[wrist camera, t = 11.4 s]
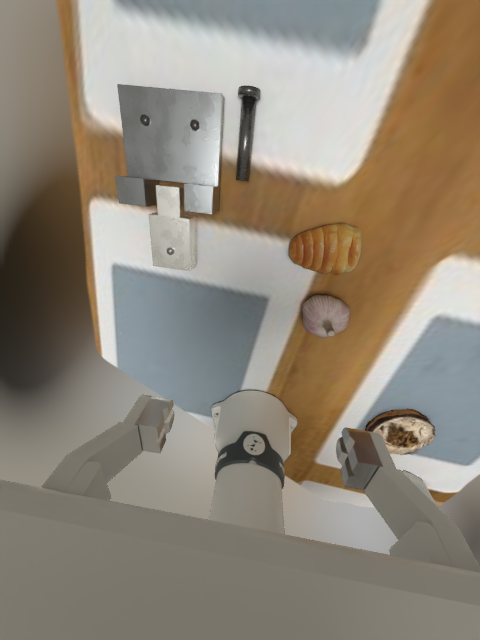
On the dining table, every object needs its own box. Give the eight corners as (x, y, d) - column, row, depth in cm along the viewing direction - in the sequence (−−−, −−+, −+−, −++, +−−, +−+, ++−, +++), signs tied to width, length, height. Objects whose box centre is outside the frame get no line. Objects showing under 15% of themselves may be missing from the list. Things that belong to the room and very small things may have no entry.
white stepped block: (196, 263, 38) (189, 271, 35) (162, 259, 38) (152, 266, 35) (196, 188, 33) (188, 188, 30) (157, 183, 33) (145, 184, 30)
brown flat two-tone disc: (344, 437, 54) (350, 455, 50) (386, 393, 47) (396, 410, 43) (403, 456, 55) (413, 475, 51) (453, 416, 48) (468, 435, 44)
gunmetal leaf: (218, 210, 34) (211, 214, 30) (136, 201, 34) (119, 203, 31) (224, 98, 28) (216, 83, 24) (124, 88, 28) (101, 73, 25)
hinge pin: (252, 181, 32) (250, 181, 30) (234, 179, 32) (230, 178, 30) (261, 94, 27) (259, 86, 25) (240, 92, 27) (236, 84, 25)
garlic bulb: (293, 298, 39) (298, 322, 32) (339, 281, 37) (355, 303, 30) (308, 334, 42) (315, 364, 35) (352, 321, 40) (368, 349, 33)
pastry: (286, 269, 37) (288, 278, 34) (290, 222, 34) (292, 226, 30) (350, 270, 36) (358, 279, 33) (360, 222, 33) (370, 226, 29)
